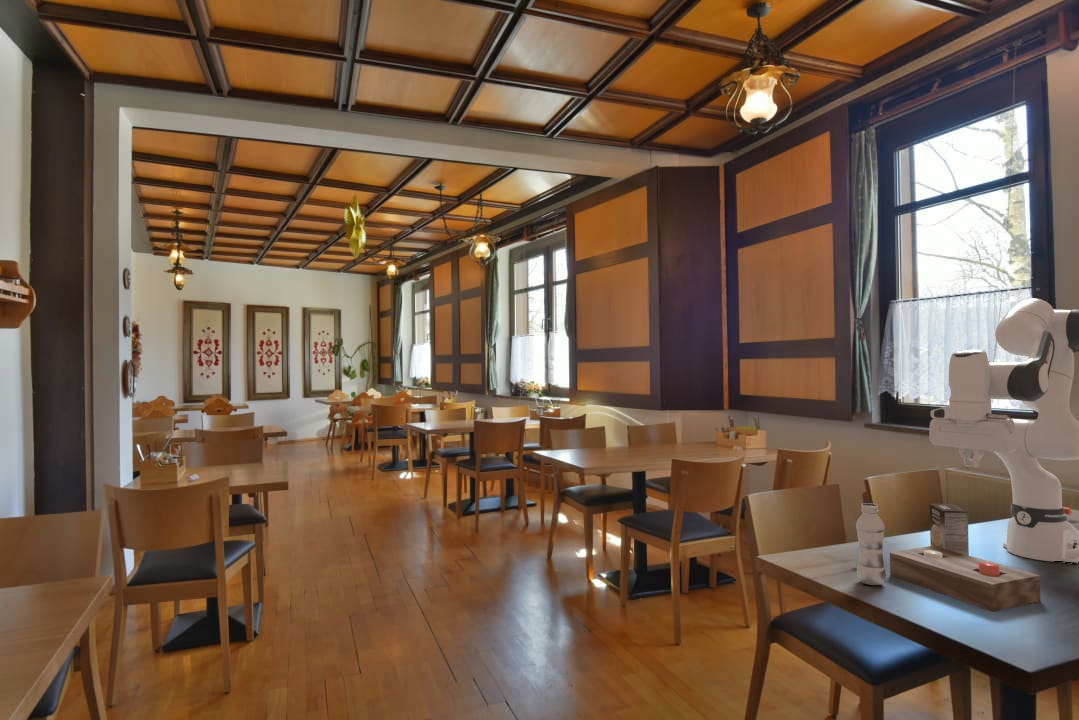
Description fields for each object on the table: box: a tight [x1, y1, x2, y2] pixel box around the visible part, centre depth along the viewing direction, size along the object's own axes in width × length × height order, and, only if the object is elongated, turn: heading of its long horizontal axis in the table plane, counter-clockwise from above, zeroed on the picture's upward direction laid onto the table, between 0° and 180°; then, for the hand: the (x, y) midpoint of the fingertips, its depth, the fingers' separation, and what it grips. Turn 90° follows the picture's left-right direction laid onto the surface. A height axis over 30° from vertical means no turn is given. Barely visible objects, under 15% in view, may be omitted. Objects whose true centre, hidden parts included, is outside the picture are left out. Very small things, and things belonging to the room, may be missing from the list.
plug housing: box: [889, 545, 1041, 612], centre depth 150 cm, size 16×26×6 cm, turn 20°
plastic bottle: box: [855, 502, 887, 586], centre depth 153 cm, size 6×7×20 cm
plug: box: [924, 550, 942, 559], centre depth 156 cm, size 4×4×6 cm
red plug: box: [979, 561, 1000, 576], centre depth 143 cm, size 4×4×6 cm
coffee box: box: [929, 503, 970, 556], centre depth 167 cm, size 9×6×16 cm
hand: (971, 466), depth 155 cm, fingers closed
